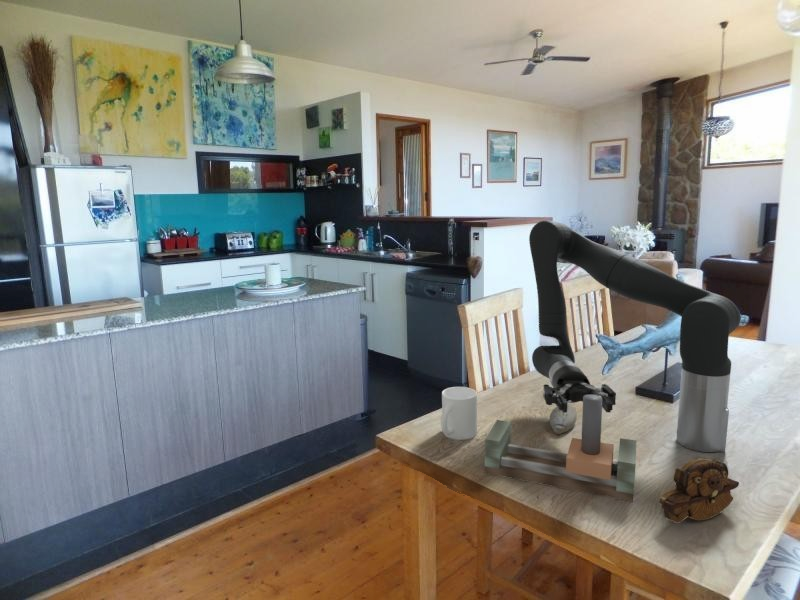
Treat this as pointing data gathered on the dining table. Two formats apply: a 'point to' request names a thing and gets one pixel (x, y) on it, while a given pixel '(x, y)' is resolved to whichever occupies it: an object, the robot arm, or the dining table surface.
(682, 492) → the wooden carving
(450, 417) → the mug
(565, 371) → the robot arm
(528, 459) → the rail bed
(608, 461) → the carriage
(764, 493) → the dining table surface
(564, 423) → the decorative stone
